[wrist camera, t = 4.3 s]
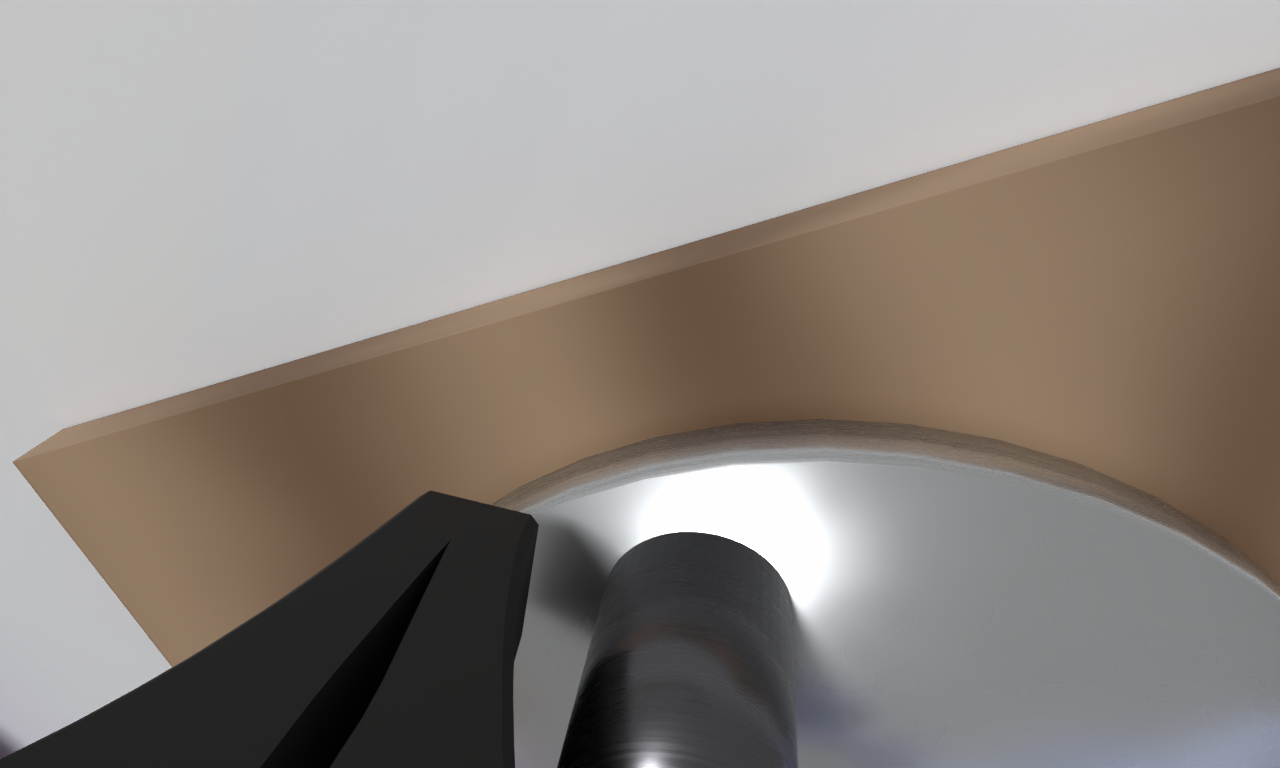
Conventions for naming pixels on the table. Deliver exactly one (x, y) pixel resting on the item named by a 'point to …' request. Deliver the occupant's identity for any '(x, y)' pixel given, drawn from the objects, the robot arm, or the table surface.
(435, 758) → the robot arm
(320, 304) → the table surface
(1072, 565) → the dial
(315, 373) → the dial plate
